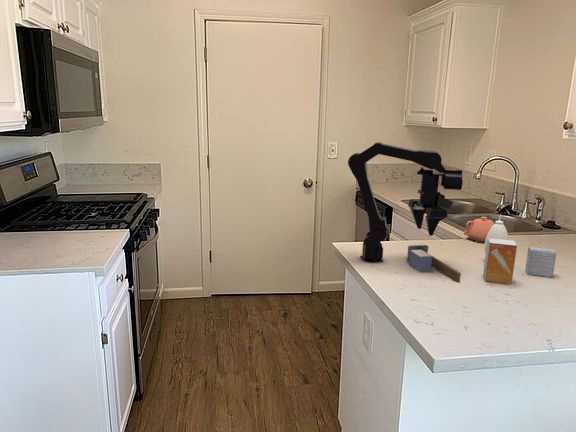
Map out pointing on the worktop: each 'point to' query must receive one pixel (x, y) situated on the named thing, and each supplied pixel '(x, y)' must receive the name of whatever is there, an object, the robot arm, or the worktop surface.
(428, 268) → the boxed book
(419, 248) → the book rack
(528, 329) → the worktop surface
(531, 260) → the medicine box
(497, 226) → the sauce bottle
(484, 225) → the sugar bowl
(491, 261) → the small box
